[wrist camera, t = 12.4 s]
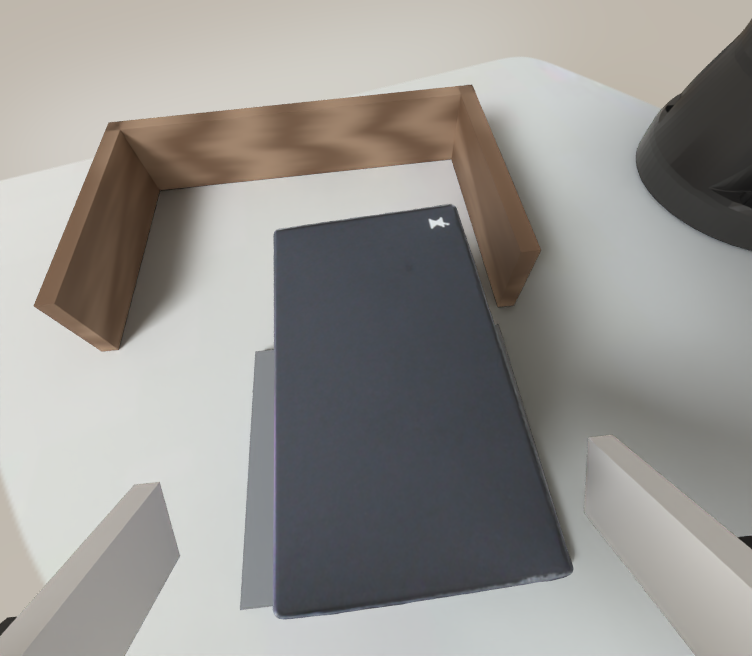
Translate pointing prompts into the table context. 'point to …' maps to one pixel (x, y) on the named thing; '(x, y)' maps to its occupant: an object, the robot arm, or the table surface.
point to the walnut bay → (264, 161)
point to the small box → (397, 424)
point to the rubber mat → (262, 485)
